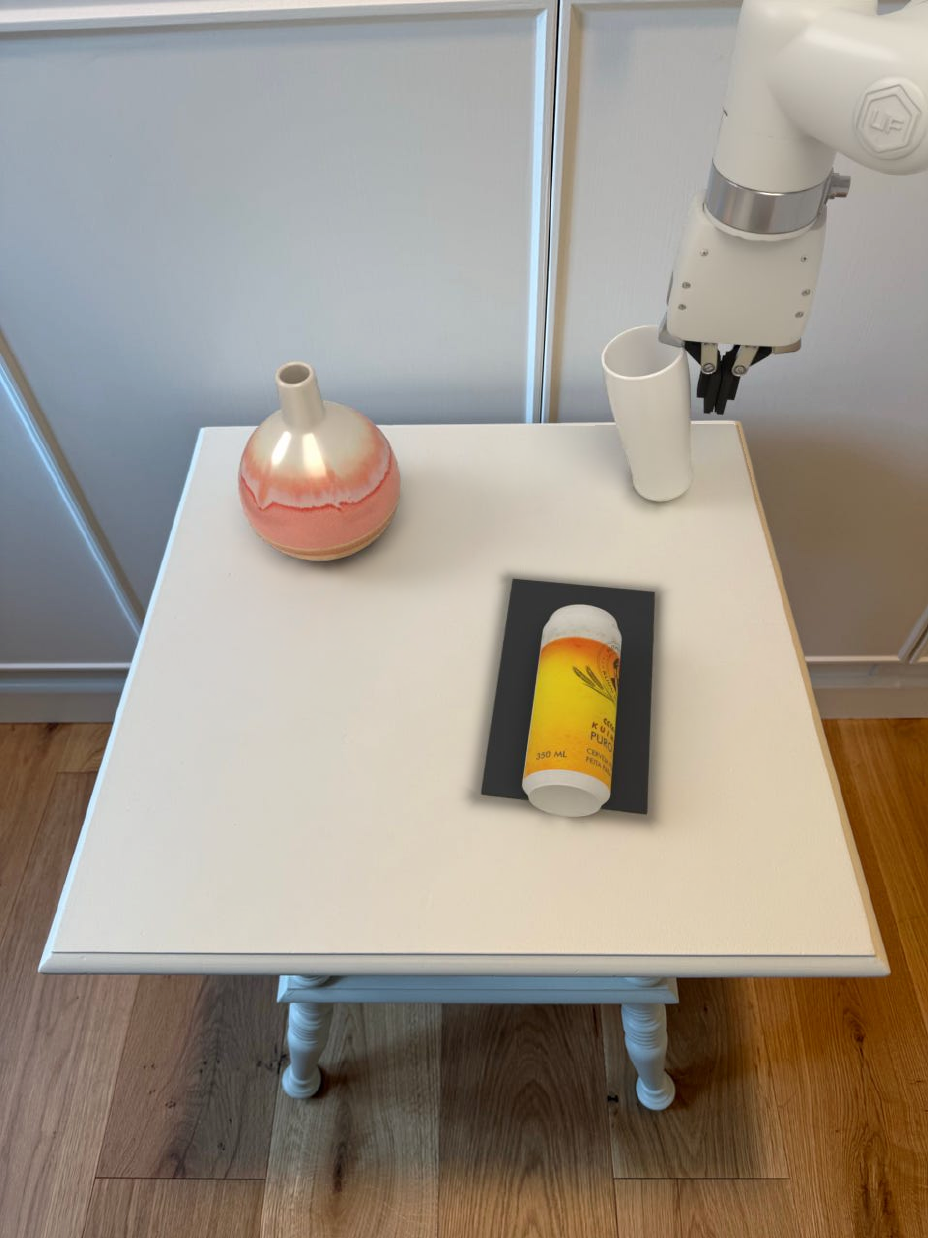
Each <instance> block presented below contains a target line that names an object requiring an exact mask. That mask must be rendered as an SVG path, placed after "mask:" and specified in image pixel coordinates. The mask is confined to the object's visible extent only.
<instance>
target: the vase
mask: <svg viewBox="0 0 928 1238" xmlns="http://www.w3.org/2000/svg"><path fill="white" fill-rule="evenodd" d="M316 373H317V372H316V370H315V368H314V367H313V366H312V365H311V364H310V363H308V362H305V361H303V360H302V361H301V360H293V361H289V362H286V363H284V364H282V365H281V366H279V367H278V368H277V369H276V371H275V374H274V382H275V387H276V391H277V396H278V401H279V406H280V408H279V409H278V410H276V411H274V412H272V414H270V415H269V416H268V417H266V419H264V420H263V421H262V422H261V423H260V424H259V425H258V426H257V427H256V428H255V430H254V431H253V432H252V434H251V435H250V437H249V438H248V440H247V441H246V443H245V446H244V448H243V451H242V454H241V456H240V461H239V465H238V471H237V489H238V496H239V501H240V504H241V508H242V511H243V513H244V515H245V517H246V519H247V521H248V523H249V525H250V527H251V528H252V529H253V530H254V532H255V533H256V534H257V536H259V537H260V538H261V540H263V541H264V542H265V543H266V544H268V545H269V546H270V547H271V548H273V549H275V550H277V551H279V552H280V553H282V554H285V555H288V556H290V557H293V558H295V559H299V560H303V561H304V560H305V561H314V562H324V561H325V562H327V561H334V560H339V559H343V558H346V557H349V556H351V555H353V554H357V553H358V552H360V551H362V550H364V549H365V548H367V547H368V546H369V545H371V544H372V543H374V541H376V540H377V539H378V538H379V537H380V536H381V535H382V534H383V533H384V532H385V531H386V529H387V527H388V526H389V524H390V523H391V522H392V520H393V518H394V516H395V514H396V511H397V509H398V505H399V501H400V497H401V488H402V487H401V484H402V483H401V474H400V468H399V461H398V460H397V457H396V454H395V452H394V449H393V447H392V445H391V444H390V442H389V440H388V439H387V437H386V436H385V434H384V433H383V432H382V430H381V429H380V427H378V426H377V425H376V423H374V422H373V421H372V420H371V419H370V418H369V417H367V416H366V415H364V414H363V413H361V412H359V411H358V410H356V409H354V408H352V407H350V406H348V405H345V404H342V403H338V402H335V401H331V400H324V399H323V398H322V394H321V389H320V385H319V382H318V377H317V374H316Z"/></svg>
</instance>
